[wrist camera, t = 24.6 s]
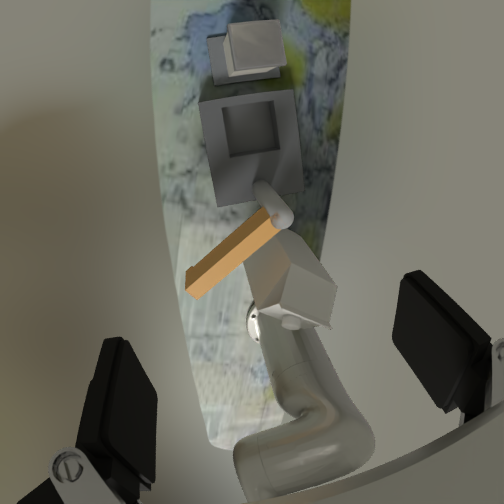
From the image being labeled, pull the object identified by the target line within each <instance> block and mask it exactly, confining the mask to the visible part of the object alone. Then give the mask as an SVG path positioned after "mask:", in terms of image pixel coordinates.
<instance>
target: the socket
mask: <svg viewBox="0 0 504 504" xmlns="http://www.w3.org/2000/svg"><path fill="white" fill-rule="evenodd" d="M198 105H199V111H200V116H201V122H202V128H203V133H204V139H205V144H206V149H207V155H208V160H209V166H210V171H211V176H212V181H213V186H214V192H215V197H216V202H217V207H222V206H227V205H232V204H238V203H243V202H248V201H253V200H257V199H256V197H255V196H254V194H253V192H252V186H253V184H254V183H255V182H256V181H258V180H265V181H266V182H268V183H269V185H270V186H271V187H272V188H273V189H274V190H275V192H276V193H277V194H278V195H279V196H281V195H286V194H292V193H298V192H304V191H305V187H304V177H303V167H302V157H301V148H300V139H299V131H298V123H297V115H296V107H295V99H294V92H293V89H290V90H280V91H270V92H262V93H254V94H246V95H239V96H233V97H227V98H221V99H215V100H209V101H204V102H199V103H198Z"/></svg>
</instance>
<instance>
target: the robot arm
mask: <svg viewBox="0 0 504 504" xmlns="http://www.w3.org/2000/svg"><path fill="white" fill-rule="evenodd" d="M281 324H282V320H279V319H276V318H274V317H271V316H269V315H266V314H264V313H261V312H259V311H257V309H256V305H255V304H254V305H253V306H252V308H251V309H250V311H249V313H248V315H247V320H246V325H247V330H248V333H249V335H250V337H251V338H252V339H253V340H254V341H255V342H257V343H258V344H260V345H261V349H262V353H263V356H264V360H265V364H266V367H267V371H268V375H269V378H270V382H271V385H272V389H273V393H274V396H275V399H276V401H277V403H278V405H279V406H280V407H281V408H282V409H283V410H284V411H285V412H286V413H287V414H289V415H290V416H292V417H293V418H296V420H293V421H290V422H289V423H286V424H283V425H280V426H277V427H274V428H271V429H268V430H264V431H261V432H258V433H255V434H252V435H249V436H246V437H244V438H242V439H241V440H239V441H238V442H237V443H236V445H235V447H234V450H233V462H234V466H235V470H236V473H237V476H238V479H239V482H240V485H241V487H242V490H243V492H244V495H245V497H246V499H247V502H248V503H243V504H504V338H502V339H498V340H497V341H496V342H495V343H494V344H493V345H492V344H491V343H490V341H491V337H490V336H489V335H488V334H487V333H486V332H485V331H484V330H483V329H482V328H481V327H480V326H479V325H478V324H477V323H476V322H475V321H474V320H473V319H472V318H471V317H470V316H469V315H468V314H467V313H466V312H465V311H464V310H463V309H462V308H461V307H460V306H459V305H458V304H457V303H456V302H455V301H454V300H453V299H451V297H449V295H448V294H446V293H445V292H444V291H443V290H442V289H441V288H440V287H439V286H438V285H437V284H436V283H434V281H432V280H431V279H430V278H429V277H428V276H427V275H426V274H425V273H424V272H422V271H421V270H416V271H413V272H410V273H406V274H405V275H404V278H403V279H402V280H401V282H400V288H399V295H398V303H397V309H396V315H395V321H394V327H393V332H392V340H393V343H394V345H395V346H396V347H397V349H398V350H399V352H400V353H401V355H402V356H403V357H404V359H405V360H406V362H407V363H408V365H409V366H410V367H411V369H412V370H413V372H414V373H415V375H416V376H417V378H418V379H419V380H420V382H421V383H422V385H423V386H424V388H425V389H426V391H427V392H428V394H429V395H430V397H431V398H432V400H433V401H434V403H435V404H436V406H437V407H438V408H442V409H443V411H444V412H445V414H446V413H448V412H450V411H452V410H454V409H455V408H457V407H459V409H460V410H461V415H460V422H459V427H458V428H456V429H455V430H453V431H451V432H449V433H447V434H446V435H444V436H442V437H440V438H438V439H436V440H434V441H433V442H431V443H429V444H427V445H425V446H423V447H421V448H419V449H417V450H415V451H412V452H410V453H408V454H406V455H404V456H402V457H399V458H397V459H395V460H392V461H390V462H388V463H385V464H383V465H380V466H378V467H375V468H373V469H370V470H368V471H365V472H362V473H360V474H357V475H354V476H351V477H348V478H346V479H343V480H339V481H336V482H333V483H330V484H327V485H323V486H320V487H316V488H313V489H309V490H305V491H301V492H297V491H300V490H303V489H306V488H310V487H313V486H317V485H320V484H323V483H326V482H329V481H332V480H334V479H336V478H339V477H342V476H345V475H347V474H349V473H351V472H353V471H355V470H356V469H358V468H360V467H361V466H363V465H364V464H365V463H366V462H367V461H368V460H369V459H370V458H371V456H372V455H373V453H374V450H375V437H374V434H373V431H372V429H371V427H370V425H369V424H368V422H367V420H366V419H365V418H364V416H363V415H362V414H361V412H360V411H359V410H358V408H357V407H356V406H355V404H354V403H353V401H352V400H351V398H350V397H349V396H348V394H347V392H346V390H345V388H344V387H343V385H342V383H341V381H340V379H339V377H338V375H337V373H336V371H335V369H334V367H333V365H332V363H331V361H330V359H329V357H328V355H327V353H326V350H325V348H324V346H323V344H322V342H321V340H320V338H319V336H318V334H317V332H316V330H315V329H314V327H312V328H307V329H302V328H300V329H298V330H289V329H286V328H284V327H282V326H281ZM157 401H158V398H157V393H156V391H155V389H154V387H153V385H152V383H151V382H150V380H149V378H148V376H147V375H146V373H145V371H144V369H143V368H142V366H141V364H140V362H139V360H138V358H137V356H136V354H135V352H134V351H133V348H132V347H131V345H130V343H129V341H128V340H124V339H123V338H122V337H113V338H107V339H104V341H103V344H102V348H101V351H100V355H99V358H98V362H97V366H96V370H95V373H94V377H93V379H92V380H91V381H90V384H89V387H88V391H87V395H86V400H85V403H84V407H83V412H82V417H81V421H80V425H79V430H78V435H77V441H76V445H75V448H74V447H66V448H63V449H60V450H58V451H57V452H56V453H55V454H54V455H53V456H52V458H51V460H50V462H49V466H48V473H49V476H50V477H49V478H48V479H47V480H45V481H44V482H43V483H42V484H40V485H39V486H38V487H37V488H35V489H34V490H33V491H31V492H30V493H29V494H27V495H26V496H25V497H24V498H22V499H21V500H20V501H19V502H18V503H17V504H142V503H141V502H140V501H139V498H140V491H151V483H154V482H155V467H156V465H155V464H156V461H155V460H156V423H157V422H156V421H157ZM294 492H297V493H294ZM290 493H293V494H290ZM287 494H289V495H287Z"/></svg>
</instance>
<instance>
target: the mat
mask: <svg viewBox="0 0 504 504" xmlns="http://www.w3.org/2000/svg"><path fill="white" fill-rule="evenodd" d="M225 37H226V36H220V37H213V38H207V45H208V51H209V57H210V63H211V69H212V75H213V81H214V86H217V85H223V84H230V83H236V82H243V81H251V80H259V79H268V78H279V77H280V70H279V66H278V67H275V68H273V69H271V70H269V71H267V72H264V73H255V74H247V75H239V76H232V77H229V76H228V70H227V64H226V58H225V52H224V46H223V42H224V40H225Z"/></svg>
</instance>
